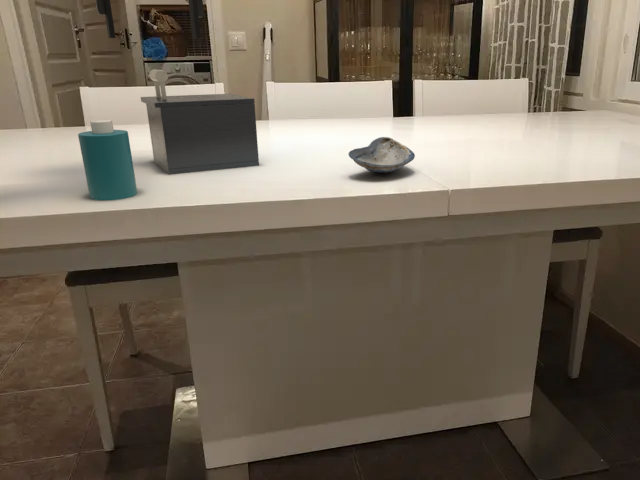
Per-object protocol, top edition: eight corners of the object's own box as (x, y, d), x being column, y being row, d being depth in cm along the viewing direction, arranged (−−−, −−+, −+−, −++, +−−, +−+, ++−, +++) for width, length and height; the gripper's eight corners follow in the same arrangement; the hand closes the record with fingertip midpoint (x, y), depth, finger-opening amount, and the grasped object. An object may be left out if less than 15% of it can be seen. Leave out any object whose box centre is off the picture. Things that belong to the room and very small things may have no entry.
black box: (169, 175, 95) (160, 107, 91) (154, 161, 106) (145, 101, 102) (259, 166, 102) (254, 103, 98) (236, 154, 113) (231, 98, 109)
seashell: (332, 166, 101) (332, 138, 99) (397, 162, 105) (397, 135, 103) (356, 184, 88) (356, 152, 86) (429, 179, 91) (431, 148, 89)
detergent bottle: (92, 203, 77) (77, 124, 73) (88, 193, 82) (74, 119, 78) (140, 197, 80) (129, 121, 76) (133, 188, 85) (122, 117, 81)
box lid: (155, 107, 90) (150, 71, 88) (141, 101, 102) (136, 68, 100) (254, 103, 98) (252, 69, 96) (231, 97, 109) (228, 67, 107)
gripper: (210, -97, 94) (222, 39, 102) (43, -117, 83) (71, 38, 91) (223, -108, 88) (235, 38, 96) (44, -130, 77) (75, 37, 85)
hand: (155, 38), depth 93 cm, fingers open, 13 cm apart
